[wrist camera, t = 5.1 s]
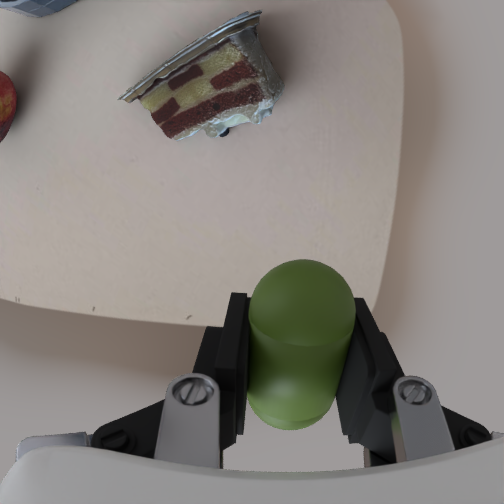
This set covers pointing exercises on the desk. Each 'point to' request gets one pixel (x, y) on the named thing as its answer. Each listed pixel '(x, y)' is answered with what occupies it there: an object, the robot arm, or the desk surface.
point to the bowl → (35, 6)
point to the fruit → (6, 104)
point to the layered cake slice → (212, 83)
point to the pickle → (298, 342)
